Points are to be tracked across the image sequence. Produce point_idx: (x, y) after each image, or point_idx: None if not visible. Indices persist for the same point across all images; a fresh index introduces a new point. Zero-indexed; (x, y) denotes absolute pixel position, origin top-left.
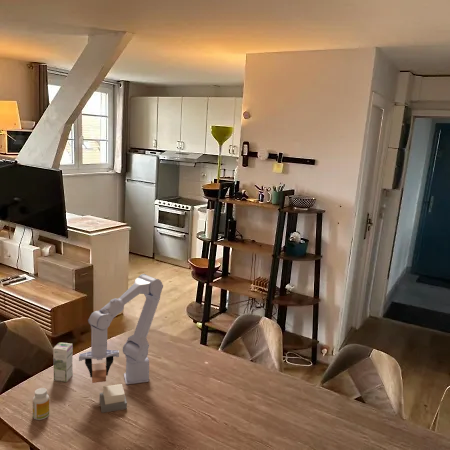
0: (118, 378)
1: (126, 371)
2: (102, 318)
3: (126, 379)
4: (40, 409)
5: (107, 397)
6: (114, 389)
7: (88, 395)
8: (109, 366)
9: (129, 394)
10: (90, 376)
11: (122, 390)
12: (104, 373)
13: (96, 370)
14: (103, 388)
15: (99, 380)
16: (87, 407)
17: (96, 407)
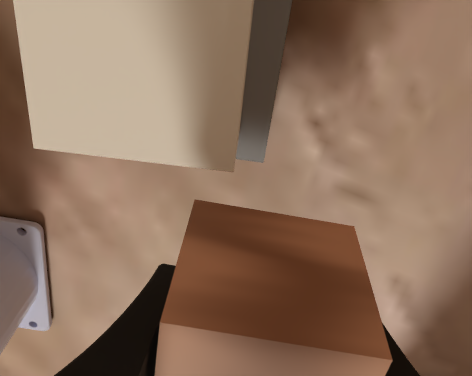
0: (91, 302)
1: (1, 319)
2: None
3: (33, 268)
4: None
5: None
6: (122, 71)
7: (331, 205)
8: (90, 360)
9: (22, 98)
10: None
11: (29, 13)
12: (199, 275)
13: (324, 348)
14: (236, 141)
15: (271, 224)
16: (392, 56)
17: (322, 24)
